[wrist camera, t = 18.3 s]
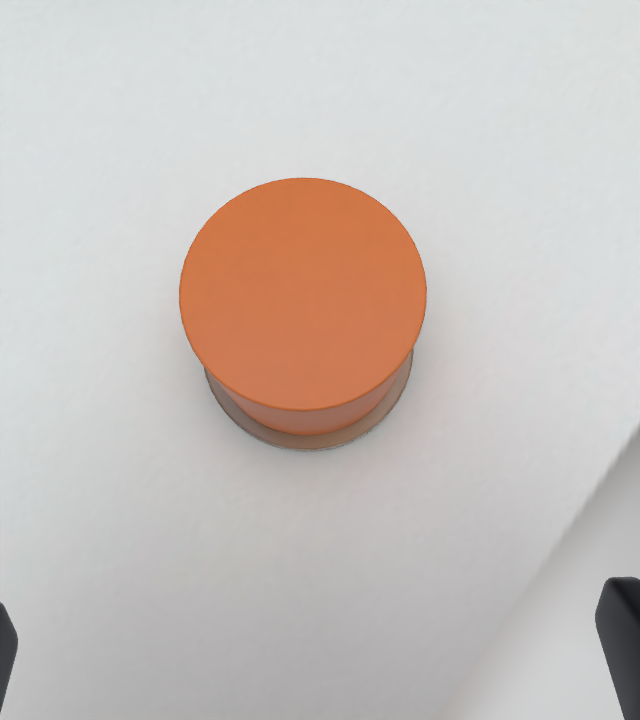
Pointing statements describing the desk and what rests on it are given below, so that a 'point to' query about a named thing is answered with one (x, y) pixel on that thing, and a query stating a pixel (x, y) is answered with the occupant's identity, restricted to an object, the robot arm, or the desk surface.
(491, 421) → the desk surface
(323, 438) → the coaster
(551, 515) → the desk surface
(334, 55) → the desk surface
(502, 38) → the desk surface
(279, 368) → the cap
